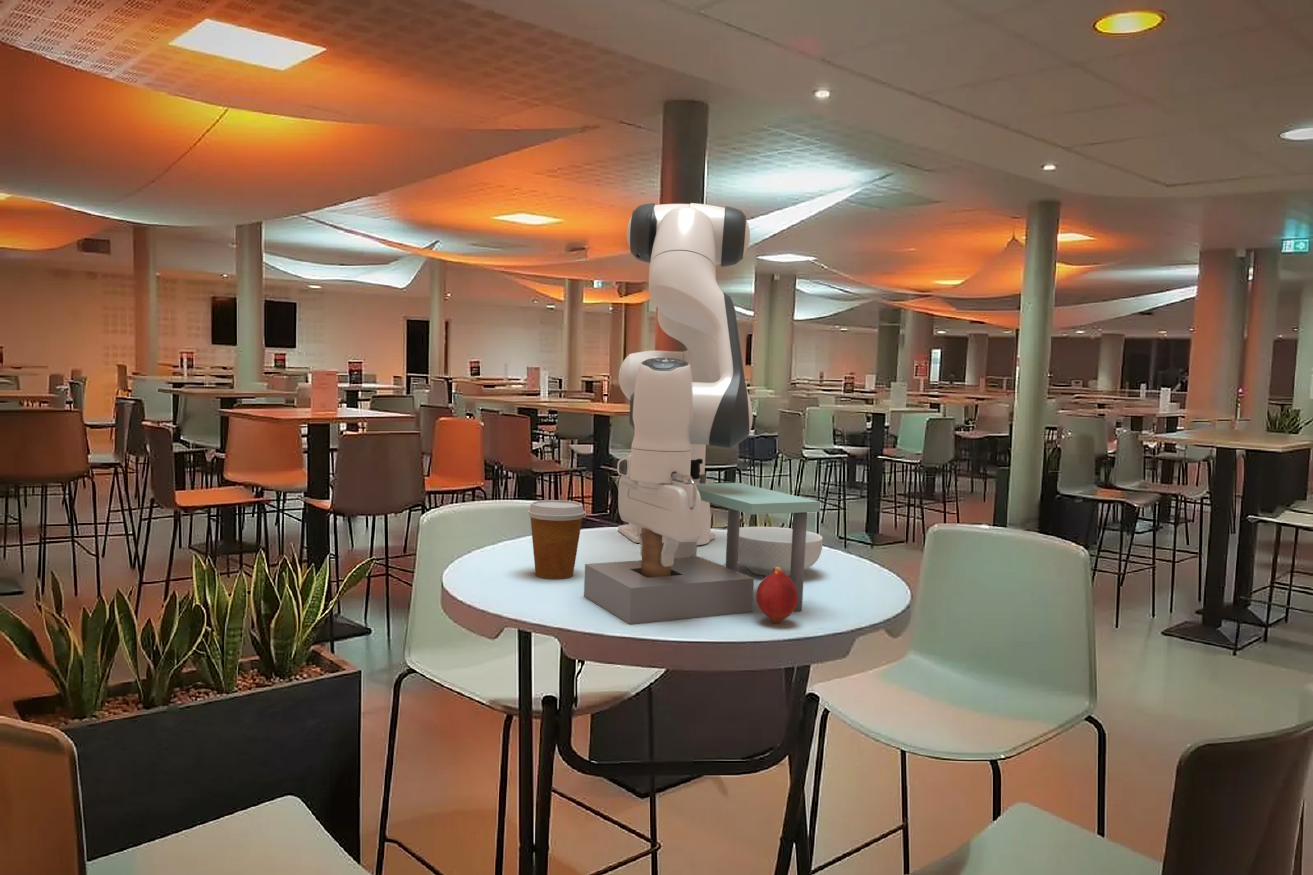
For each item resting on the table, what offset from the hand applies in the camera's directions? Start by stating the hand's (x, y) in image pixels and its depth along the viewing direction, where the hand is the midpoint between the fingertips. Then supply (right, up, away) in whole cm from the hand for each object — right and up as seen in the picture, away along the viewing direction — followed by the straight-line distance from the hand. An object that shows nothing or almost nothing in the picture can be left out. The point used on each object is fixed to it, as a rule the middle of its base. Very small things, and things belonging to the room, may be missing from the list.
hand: (656, 561), depth 133 cm
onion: (+17, -8, -6) cm, 20 cm away
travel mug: (+4, -5, +23) cm, 24 cm away
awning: (+13, -7, +7) cm, 16 cm away
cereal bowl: (+21, -6, +27) cm, 35 cm away
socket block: (+2, -7, +1) cm, 7 cm away
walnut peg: (0, -5, 0) cm, 5 cm away
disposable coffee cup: (-17, -5, +17) cm, 25 cm away
